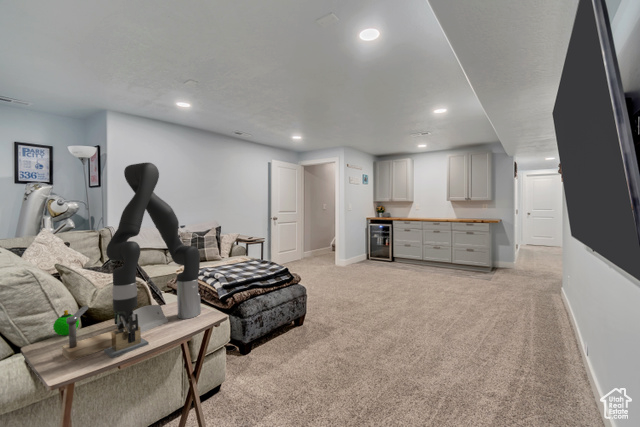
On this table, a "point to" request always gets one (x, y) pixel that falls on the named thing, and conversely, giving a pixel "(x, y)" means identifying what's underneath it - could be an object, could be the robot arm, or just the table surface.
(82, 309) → the lever
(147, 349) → the table surface
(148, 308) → the grey upright curved plate
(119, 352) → the mat
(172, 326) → the table surface
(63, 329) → the ornament
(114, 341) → the tan rectangular block
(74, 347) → the wooden base stand
